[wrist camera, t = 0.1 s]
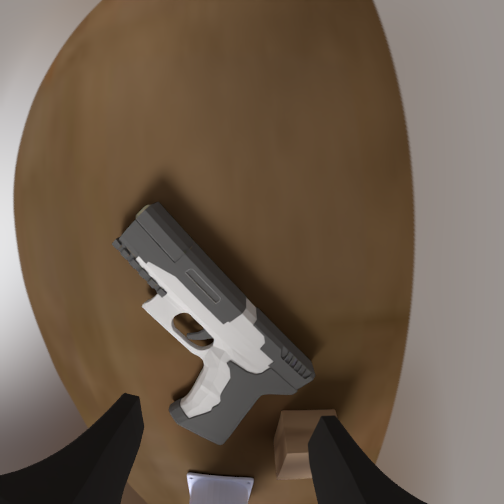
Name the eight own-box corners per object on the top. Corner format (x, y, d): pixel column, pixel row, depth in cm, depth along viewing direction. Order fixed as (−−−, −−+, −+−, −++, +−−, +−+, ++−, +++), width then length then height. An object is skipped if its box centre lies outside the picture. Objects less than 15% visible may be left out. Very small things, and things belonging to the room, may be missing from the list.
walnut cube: (321, 438, 24) (330, 476, 19) (273, 440, 24) (276, 479, 19) (334, 408, 23) (347, 448, 18) (281, 409, 22) (287, 453, 18)
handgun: (214, 448, 21) (328, 389, 19) (51, 315, 17) (145, 202, 15) (216, 429, 24) (322, 369, 22) (67, 301, 20) (158, 197, 17)
